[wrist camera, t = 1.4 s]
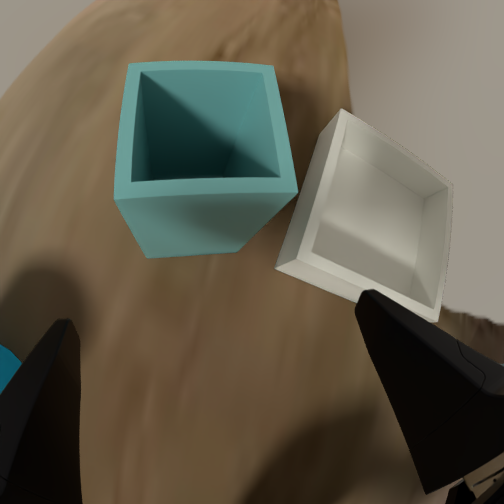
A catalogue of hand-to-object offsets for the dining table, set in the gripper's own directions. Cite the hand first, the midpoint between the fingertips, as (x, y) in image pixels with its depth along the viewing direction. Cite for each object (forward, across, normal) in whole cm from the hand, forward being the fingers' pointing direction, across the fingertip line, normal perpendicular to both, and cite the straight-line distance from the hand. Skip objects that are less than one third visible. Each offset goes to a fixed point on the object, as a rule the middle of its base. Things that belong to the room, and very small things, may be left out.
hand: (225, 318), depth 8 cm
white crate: (+13, -15, +5) cm, 21 cm away
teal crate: (+14, 0, +4) cm, 15 cm away
